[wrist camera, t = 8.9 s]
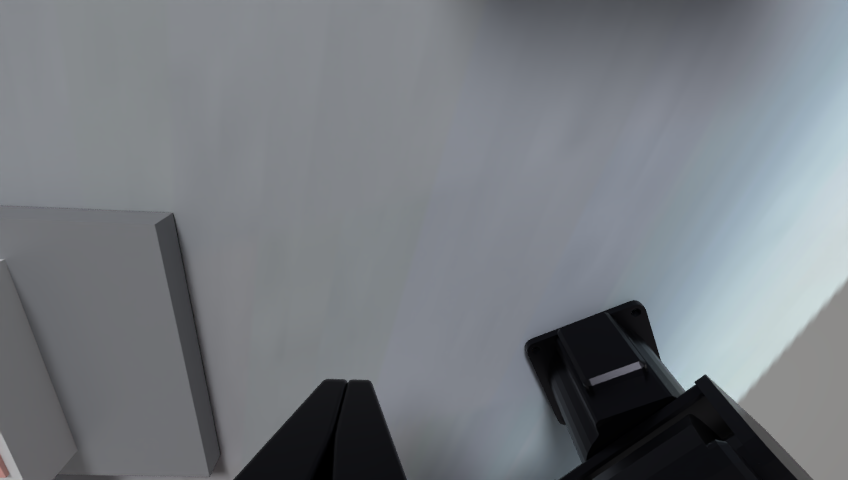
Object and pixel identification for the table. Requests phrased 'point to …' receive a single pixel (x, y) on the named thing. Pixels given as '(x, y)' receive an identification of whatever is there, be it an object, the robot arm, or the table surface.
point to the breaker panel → (98, 348)
